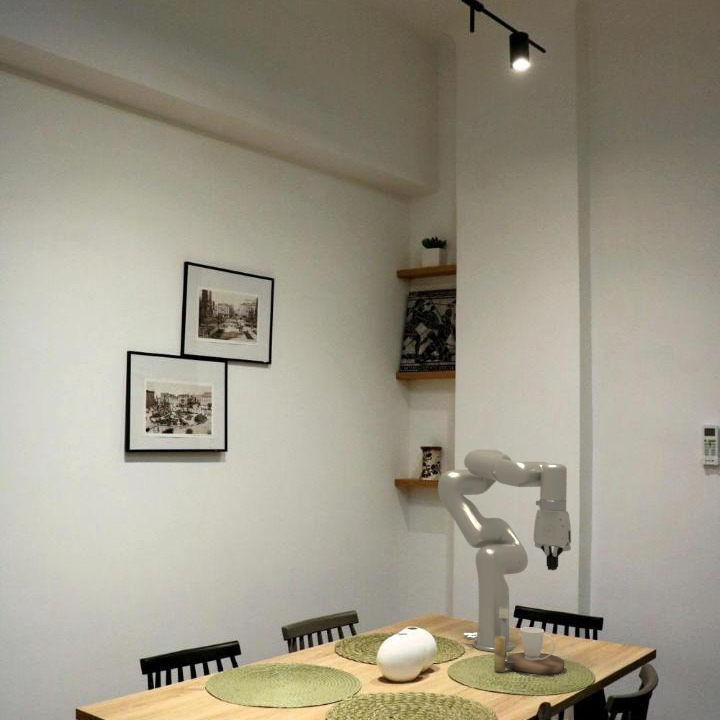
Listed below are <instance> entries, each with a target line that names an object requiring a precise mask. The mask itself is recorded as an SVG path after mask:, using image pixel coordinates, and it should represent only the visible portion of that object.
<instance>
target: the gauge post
mask: <svg viewBox="0 0 720 720" xmlns="http://www.w3.org/2000/svg"><path fill="white" fill-rule="evenodd" d="M499 618H501V636H503V637H505V660H507V657H508V656H509V655H508V653H507V652H508V651H507V618H508V619H509V620H510V607H509V608H508V607H499Z"/></svg>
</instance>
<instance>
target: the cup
mask: <svg viewBox="0 0 720 720" xmlns="http://www.w3.org/2000/svg"><path fill="white" fill-rule="evenodd" d="M519 629H520V630H519V631H520V636H521V637H520V639H521V643H522V649H523V652H524V654H525V655H526V656H525V659H527V660H543V659H545V658H547V657H549V656H550V655H553V653H554V652H555V647H556V646H555V641H554V639H553V637H552V636H550V635H549V634H545V630H544V629H543V628H539V627H533V626H532V627H529V626H527V627H521V628H519ZM544 638H549V639H550V641H551V643H552V651H551V653H548V654H549V655H548V656H546V657H544V658H539V657H538V656H540V653H542V649H543V641H544Z"/></svg>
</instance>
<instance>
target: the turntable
mask: <svg viewBox="0 0 720 720" xmlns="http://www.w3.org/2000/svg"><path fill="white" fill-rule="evenodd" d="M549 654H550V653H544V652H541V653H540V656H538V657H539V658H544V657H546V656H548V655H549ZM507 656H508V657H507V661H505V637H503V636H495V637H494V656H493V657H494V658H493V660H494V663H493V664H494V666H493V667H494V668H493V670H494V672H500V673H501V672H503V673H504V672H505V671H506V669H507V668H508V667H509V668H511V669H513V670H516V671H520V672H524V673H531V674H555V673H559V672H562V671H564V667H565V660H564V659H563V658H561V657H560V656H557V655H553V654H551V655H550V656H549V657H547V658H545V659H543V660H527V659H525V656H526V655H525V654H524V651H522V652H515V653H511V654H509V655H507Z"/></svg>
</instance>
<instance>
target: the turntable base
mask: <svg viewBox="0 0 720 720" xmlns="http://www.w3.org/2000/svg"><path fill="white" fill-rule="evenodd" d="M508 669H509V670H508ZM506 670H508V671H510V670H511V671H510V672H512V671H513V672H512V673H514V672H516V673H515V674H518V673H519V674H518V675H522V674H525V675H524V676H528V675H533V676H532V677H539V676H549V677H555V676H554V675H558V676H560V675H559V674H562V673H564V672H565V671H566V672H567V667H565V668H564V671H562V672H559V673H555V674H531V673H524V672H520V671H516V670H513V669H511V668H509V667H508V668H506ZM566 672H565V673H566ZM565 673H564V674H565ZM562 675H563V674H562Z"/></svg>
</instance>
